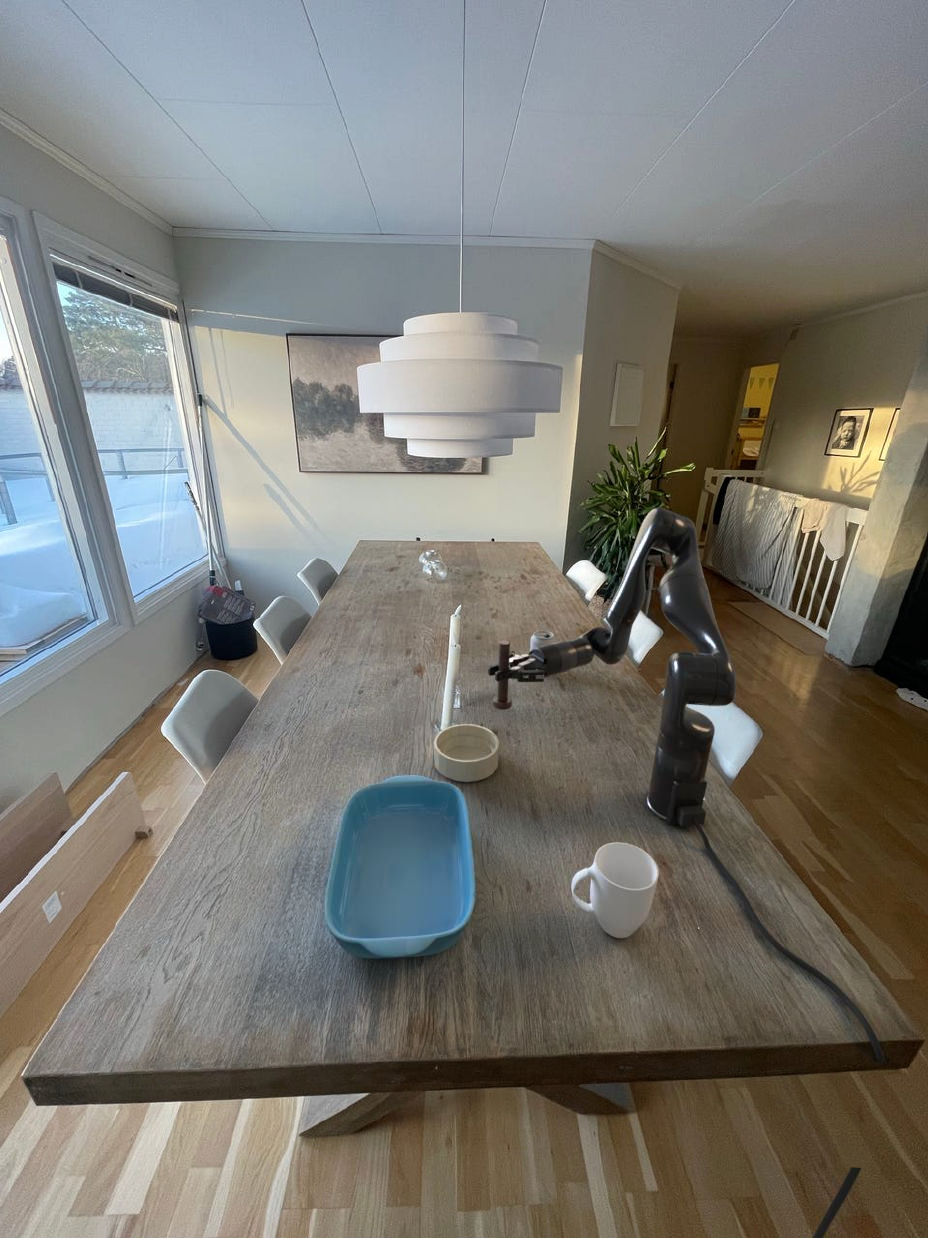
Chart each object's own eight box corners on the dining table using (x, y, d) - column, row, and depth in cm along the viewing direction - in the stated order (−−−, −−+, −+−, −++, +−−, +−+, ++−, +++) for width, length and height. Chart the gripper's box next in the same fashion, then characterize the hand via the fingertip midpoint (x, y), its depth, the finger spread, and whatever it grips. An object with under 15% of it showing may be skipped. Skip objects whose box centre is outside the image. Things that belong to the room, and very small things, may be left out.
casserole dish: (351, 804, 102) (349, 774, 99) (463, 799, 104) (464, 769, 101) (315, 998, 68) (309, 960, 65) (483, 986, 69) (484, 949, 67)
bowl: (504, 780, 109) (505, 758, 107) (438, 786, 107) (437, 764, 105) (491, 741, 122) (491, 721, 120) (431, 746, 120) (431, 726, 118)
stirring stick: (513, 709, 119) (516, 645, 113) (495, 710, 118) (497, 647, 112) (509, 699, 123) (511, 638, 117) (491, 700, 122) (492, 639, 116)
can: (553, 676, 154) (555, 639, 149) (527, 674, 155) (530, 637, 151) (554, 665, 160) (556, 630, 156) (529, 663, 162) (532, 628, 157)
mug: (638, 900, 82) (648, 841, 78) (655, 953, 74) (667, 891, 69) (564, 897, 82) (570, 839, 78) (573, 950, 74) (580, 888, 70)
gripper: (537, 634, 128) (477, 647, 120) (573, 655, 117) (510, 671, 109) (535, 661, 131) (476, 676, 123) (571, 684, 119) (508, 702, 111)
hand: (492, 674), depth 116 cm, fingers closed on stirring stick, 2 cm apart
